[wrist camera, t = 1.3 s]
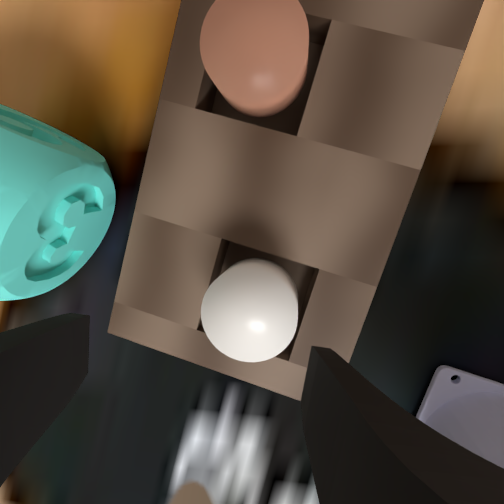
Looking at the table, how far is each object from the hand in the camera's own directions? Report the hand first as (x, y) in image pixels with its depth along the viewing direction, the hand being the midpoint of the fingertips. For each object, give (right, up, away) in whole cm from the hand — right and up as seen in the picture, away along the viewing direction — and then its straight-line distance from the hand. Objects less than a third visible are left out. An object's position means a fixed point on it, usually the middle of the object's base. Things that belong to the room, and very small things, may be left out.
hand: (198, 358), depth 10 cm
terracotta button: (+2, +12, +5) cm, 14 cm away
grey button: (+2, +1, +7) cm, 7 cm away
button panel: (+3, +7, +9) cm, 12 cm away
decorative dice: (-11, +7, +11) cm, 17 cm away
